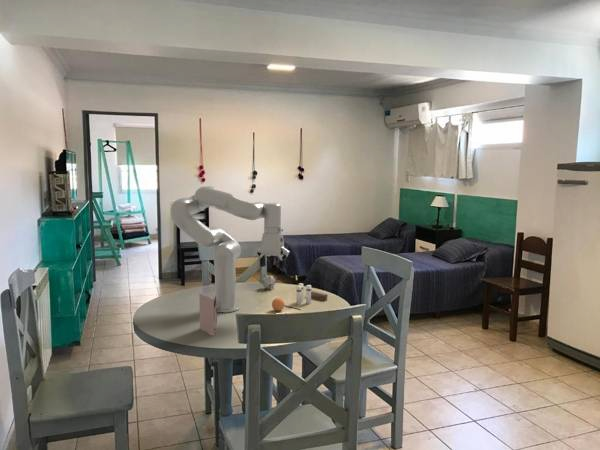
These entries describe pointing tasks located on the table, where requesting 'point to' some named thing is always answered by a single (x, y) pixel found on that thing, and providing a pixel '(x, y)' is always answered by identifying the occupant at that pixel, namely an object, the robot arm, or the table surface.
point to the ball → (278, 304)
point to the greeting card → (208, 314)
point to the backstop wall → (318, 296)
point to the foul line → (292, 307)
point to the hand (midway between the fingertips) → (272, 267)
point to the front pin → (298, 295)
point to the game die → (268, 282)
